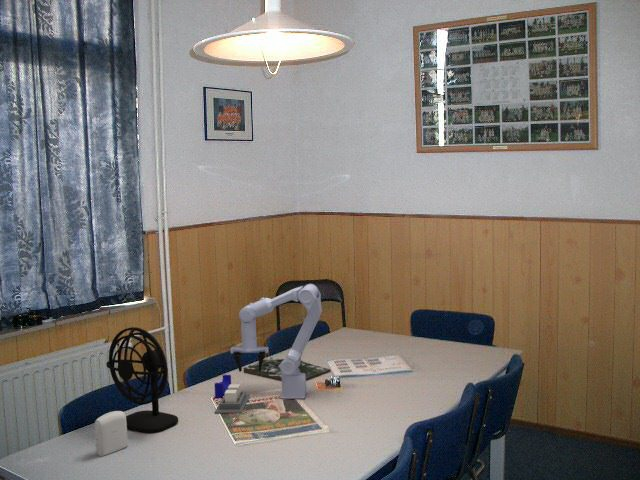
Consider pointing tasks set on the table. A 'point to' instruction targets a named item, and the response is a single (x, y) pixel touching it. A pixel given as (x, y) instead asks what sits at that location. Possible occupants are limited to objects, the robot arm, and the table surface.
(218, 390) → the cable clip
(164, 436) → the table surface
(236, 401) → the light gray rectangular block
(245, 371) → the topographical map
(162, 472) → the table surface
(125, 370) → the desk fan
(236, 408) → the grey stepped block
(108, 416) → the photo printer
